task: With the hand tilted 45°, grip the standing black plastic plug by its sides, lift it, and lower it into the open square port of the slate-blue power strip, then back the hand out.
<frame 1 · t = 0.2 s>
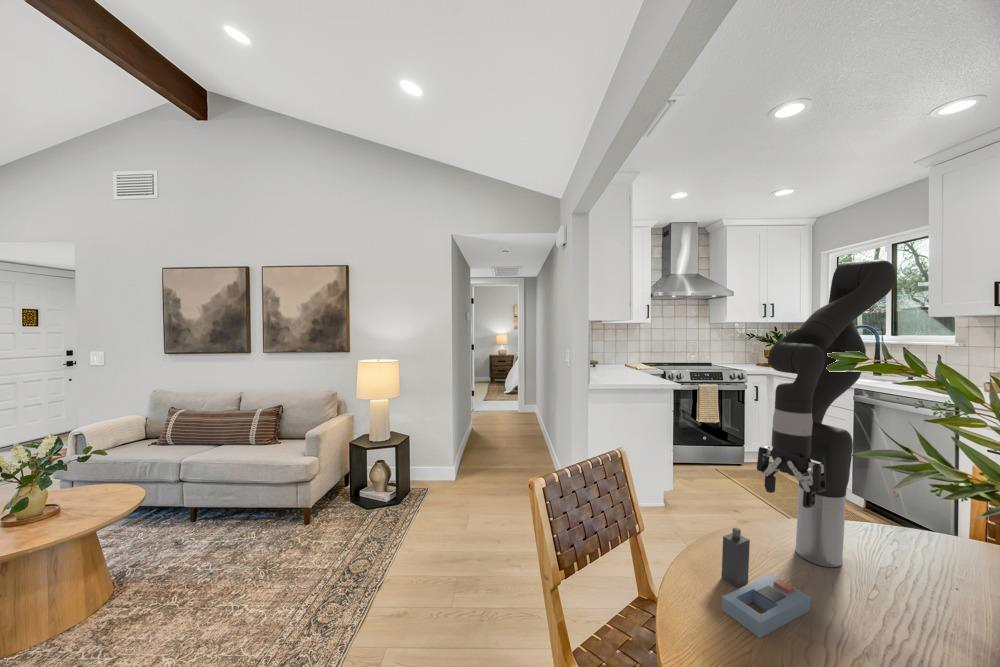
hand: (788, 499, 97), 18 cm above the table, tool pointing down, fingers open, 8 cm apart
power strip: (765, 610, 86), on the table
black plug: (734, 580, 96), on the table
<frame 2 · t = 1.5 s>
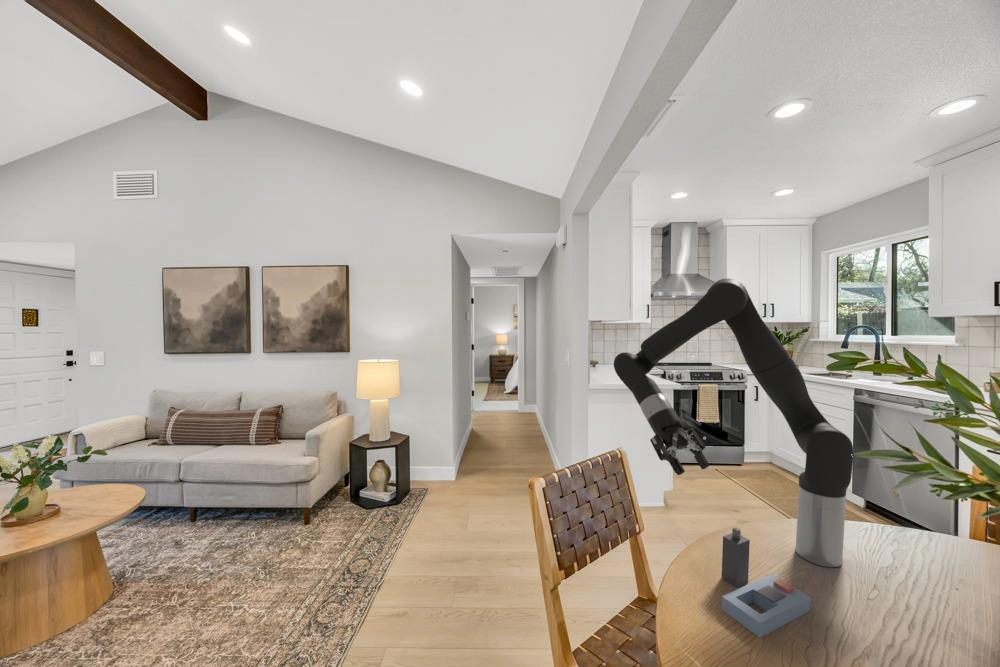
hand: (694, 470, 104), 21 cm above the table, tool tilted 45°, fingers open, 8 cm apart
nothing on the table moved.
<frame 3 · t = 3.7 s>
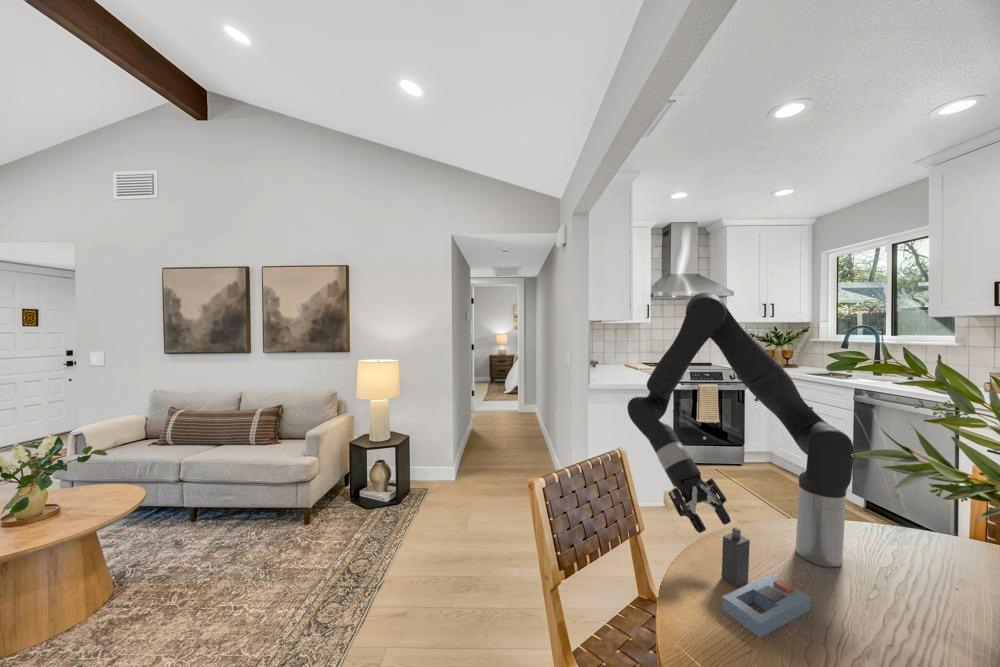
hand: (715, 527, 100), 10 cm above the table, tool tilted 45°, fingers open, 8 cm apart
nothing on the table moved.
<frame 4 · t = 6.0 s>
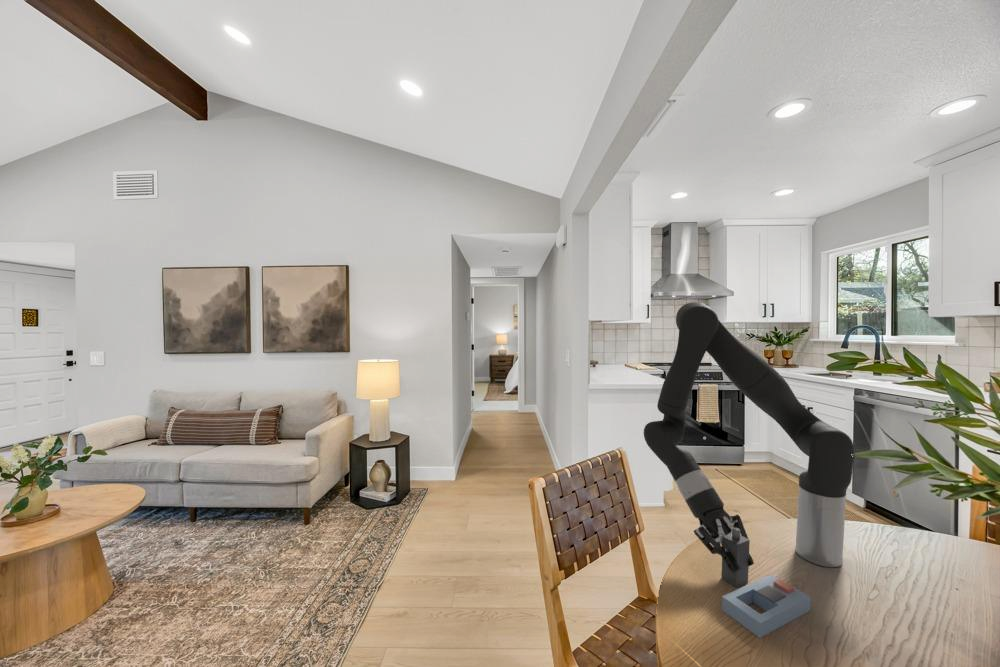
hand: (743, 567, 94), 4 cm above the table, tool tilted 45°, fingers closed on black plug, 4 cm apart
black plug: (734, 580, 96), on the table, touching gripper
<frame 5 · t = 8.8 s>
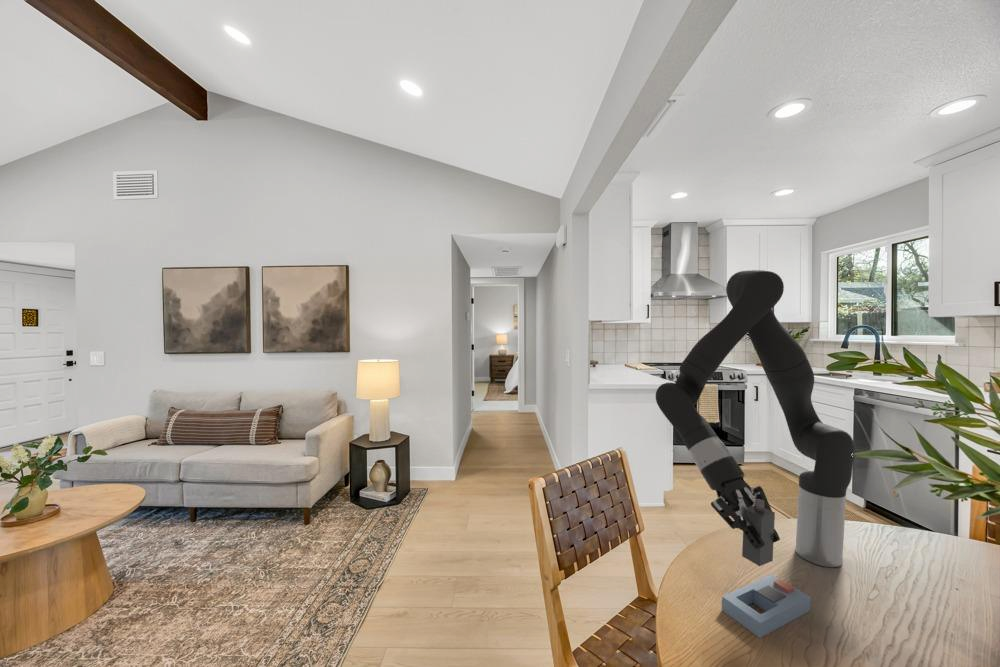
hand: (768, 544, 82), 16 cm above the table, tool tilted 45°, fingers closed on black plug, 4 cm apart
black plug: (757, 558, 84), point 12 cm above the table, touching gripper
when the fingers open (5 cm above the table, at t = 11.7 s): black plug stays where it is, resting in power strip.
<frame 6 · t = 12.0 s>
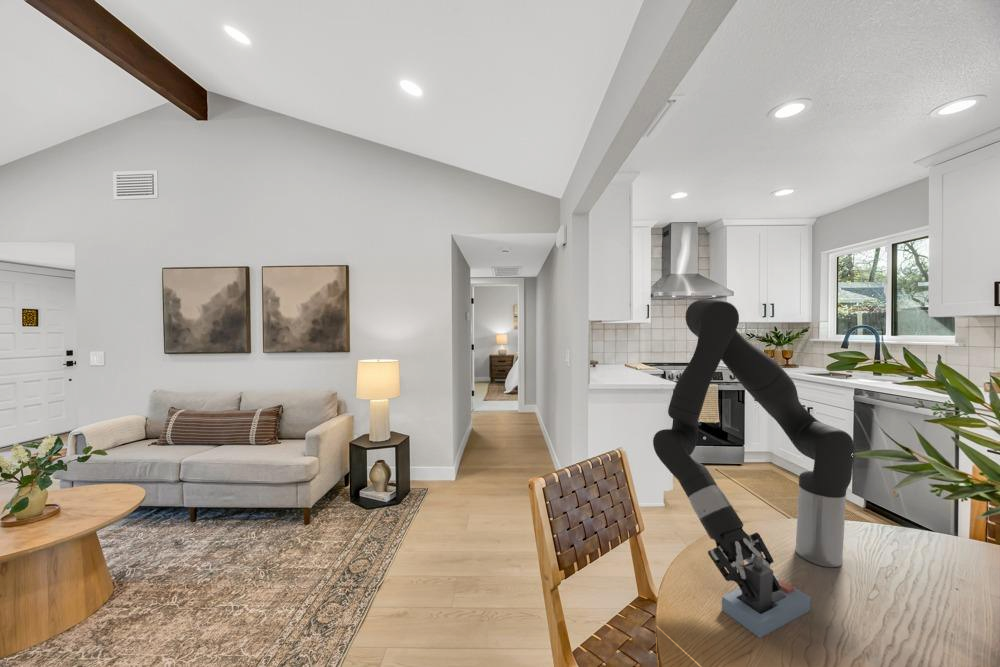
hand: (765, 595, 83), 5 cm above the table, tool tilted 45°, fingers open, 6 cm apart
black plug: (755, 615, 85), resting in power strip
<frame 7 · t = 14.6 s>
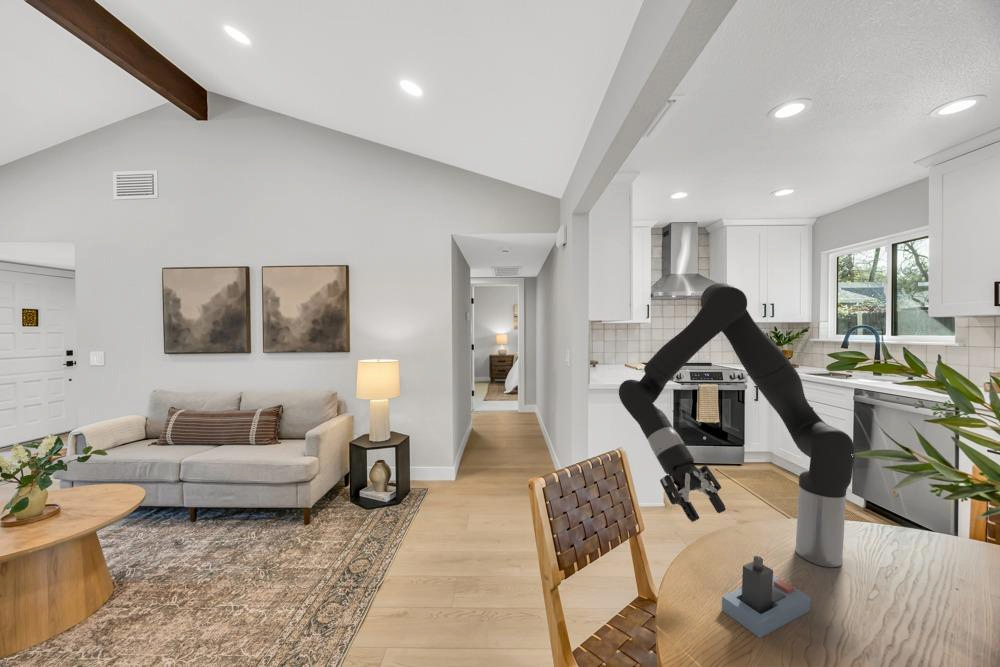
hand: (709, 516, 94), 15 cm above the table, tool tilted 45°, fingers open, 8 cm apart
nothing on the table moved.
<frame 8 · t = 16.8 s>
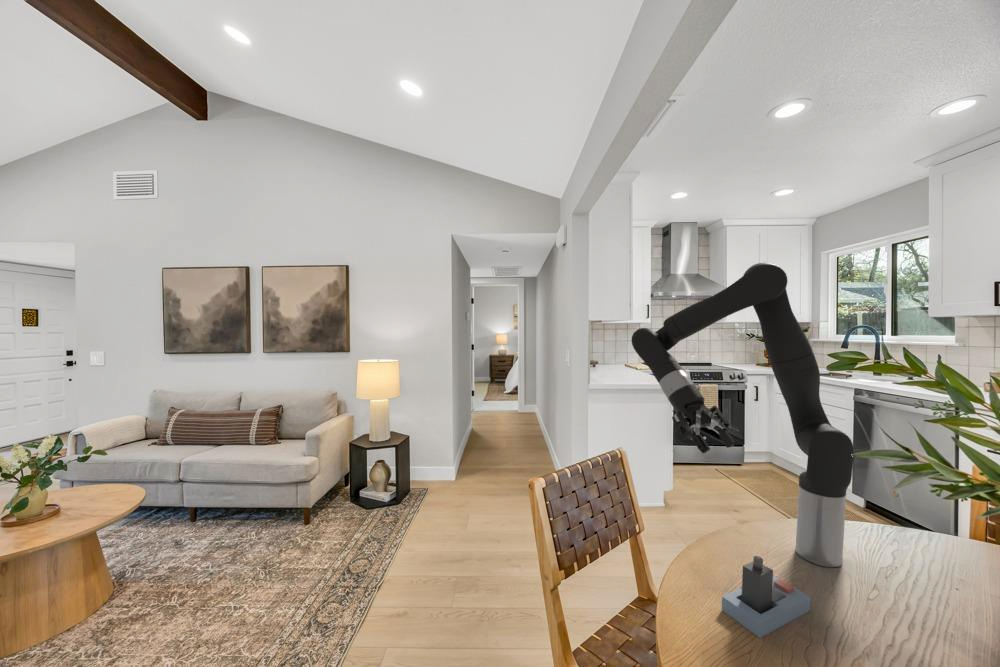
hand: (719, 448, 99), 29 cm above the table, tool tilted 45°, fingers open, 8 cm apart
nothing on the table moved.
at the end: black plug 0.1 cm from the target spot on the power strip, point 0.0 cm above the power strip's base; black plug tilted 0°; the gripper is holding nothing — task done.
